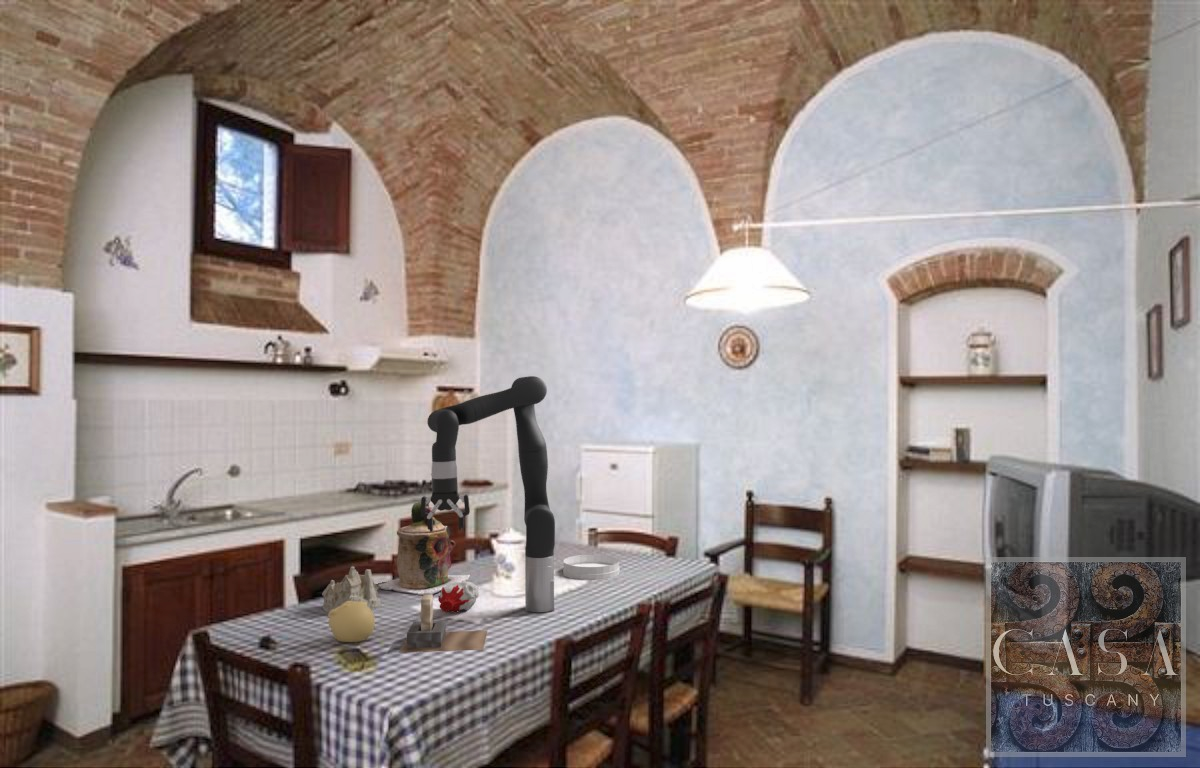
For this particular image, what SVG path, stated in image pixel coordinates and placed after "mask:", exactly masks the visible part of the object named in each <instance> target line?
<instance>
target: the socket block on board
mask: <svg viewBox="0 0 1200 768" xmlns="http://www.w3.org/2000/svg"><path fill="white" fill-rule="evenodd" d="M446 622H447V621H446V620H433V630H429V631H421V621H413V622H412V623H411V625H410V627H409V629H408V631H407V633H406V639H405V641H404V643H402V645H401V646H402V647H401V648H400V650H399V651H398V653H422V652H423V653H424V652H448V651H449V652H451V651H453V652H454V651H481V650H482V651H483V650H484V648H485V645H486V644H485V643H486V640H487V635H488V630H487V629H486V630H459V631H446V628H447V627H446V626H447V625H446V624H447V623H446Z"/></svg>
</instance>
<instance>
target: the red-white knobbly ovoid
mask: <svg viewBox="0 0 1200 768" xmlns="http://www.w3.org/2000/svg"><path fill="white" fill-rule="evenodd" d="M439 594H440V595H438V599H437V601H438V602H439V609H440V610H441V611H442V612H452V613H454V612H457V611H459V612H461V611H463V610H464V611H466V610H468V611H469V609H471V608H472V607H473V606H474V605H475V604H476V602H477V599H478V598H479V595H480V594H479V586H477V585H476V584H474V583H473V582H471V581H466V582H454V583H451V584H449V585H447V586H445V587H443V588H442V590H441V591H440V593H439ZM470 607H471V608H470ZM457 613H458V612H457Z"/></svg>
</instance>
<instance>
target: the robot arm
mask: <svg viewBox="0 0 1200 768" xmlns="http://www.w3.org/2000/svg"><path fill="white" fill-rule="evenodd" d="M547 391H548V388H547V385H546V383H545V381H544V380H543V379H542V378H541V377H538V376H532V375H529V376H520V377H518V378H516V379H515V380H513V382H512V384H511V387H510V388H507V389H504V390H501V391H497V392H492V393H487V394H484V395H480V396H477V397H474V398H472V399H468V400H465V401H463V402H460V403H457V404H454V405H450V406H446V407H442V408H438V409H436V410H433V411H432V412H431V413H430V414H429V415H428V417H427V427H428V428H429V430H431V431H432V432H434V433H436V439H435V442H433V443H432V445H431V473H430V476H431V496H425V495H423V496H422V497H421V499H420V500H421V517H425V518H427V524H428V530H430V532H431V531H433V518H432V516H433V514H434V513H436V511H437V510H438V511H440V512H441V511H451V510H453V511H454V512H455V513H456V514H457V516H458V530H459V531H462V530H463V528H464V526H465V517H466V516H468V515H470V513H471V512H470V511H471V510H470V501H469V500H470V498H469V494H467V493H466V494H462V495H459V493H458V492H459V491H458V466H457V450H456V447H457V445H456V444H457V440H458V435H459V429H460V427H459V426H462V425H469V424H473V423H474V424H475V423H476V422H478V421H479V422H480V421H481V420H484V419H487V418H489V417H492V416H495V415H497V414H499V413H502V412H505V411H507V410H511V409H513V413H514V418H515V425H516V435H517V436H516V438H517V447H518V451H517V452H518V459H519V460H518V461H519V468H520V476H521V479H522V480H521V481H522V486H523V492H524V493H523V494H524V513H523V514H524V515H523V516H524V524H525V528H526V529H525V533H526V534H525V536H526V537H525V549H524V550H525V551H524V552H525V553H524V555H525V556H524V557H525V561H524V562H525V563H524V565H525V581H524V582H525V584H524V587H525V598H524V599H525V602H524V603H525V610H526V611H527V612H531V613H547V612H551V611H555V576H554V575H555V565H554V563H555V560H554V558H555V557H554V555H555V553H554V552H555V550H554V549H555V545H556V541H555V539H556V520H555V515H554V513H553V512H552V511H551V509H550V506H549V505H550V504H549V499H548V491H547V480H548V468H549V467H548V466H549V461H548V450H547V447H548V446H547V444H546V440H545V437H544V434H543V433H542V431H541V428H540V427H539V424H538V421H537V417H536V410H535V409H536V408H535V405H537V404H539V403H541V402H542V401H543V400H544V399H545V398H546V396H547ZM459 500H461V502H462V503H464V505H463V506H464V511H463V510H462V509H461V508H460V506H458V504H457V503H458V502H459ZM429 501H430V502H431V503H432V504H433V507H432V508H433V509H432V510H431V511H430V513H426V504H428V503H429ZM429 504H430V503H429ZM433 517H434V516H433Z"/></svg>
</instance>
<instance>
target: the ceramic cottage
mask: <svg viewBox="0 0 1200 768" xmlns="http://www.w3.org/2000/svg"><path fill="white" fill-rule="evenodd" d="M378 589H379V586H378V585H377V584H376V583H375V582H374V580H373V574H372V569H367V568H366V569H365V571H364V574H359V572H358V571H357V570H356V569H355V566H350V569H349V572H348V574H345V575H344V577H343V579H342V581H341V582H335V579H334V580H333V579H331V580H330V583H329V584H328V585H327V586H326V588H325V589H323V591H322V593H321V595H322V596H323V605H322V610H323V611H325V612H326V613H327V614H329V612H330V611H331V610H333V609H335V608H337V607H339V606H341V605H342V604H343V603H345V602H346V601H355V602H358V601H362V602H365V603H367V606H368V607H369V608H370V609H371V611H373V610H375V609H378V608H381V606H382V604H381V599H380V598H379V597H378V596H379V595H378V594H379V592H378Z"/></svg>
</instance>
